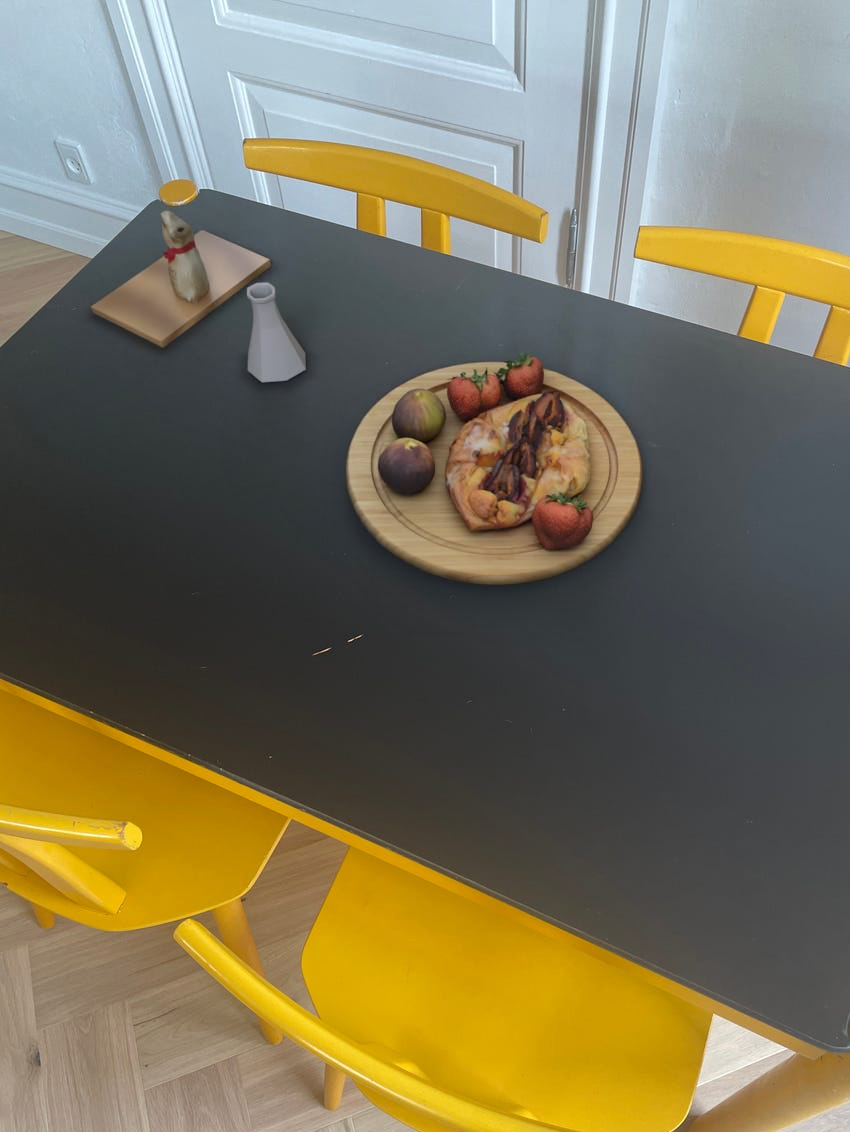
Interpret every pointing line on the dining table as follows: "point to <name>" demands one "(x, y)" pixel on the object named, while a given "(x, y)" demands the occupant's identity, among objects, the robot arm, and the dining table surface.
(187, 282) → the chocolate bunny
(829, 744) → the dining table surface
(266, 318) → the flask
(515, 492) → the wooden plate
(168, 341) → the wooden board
